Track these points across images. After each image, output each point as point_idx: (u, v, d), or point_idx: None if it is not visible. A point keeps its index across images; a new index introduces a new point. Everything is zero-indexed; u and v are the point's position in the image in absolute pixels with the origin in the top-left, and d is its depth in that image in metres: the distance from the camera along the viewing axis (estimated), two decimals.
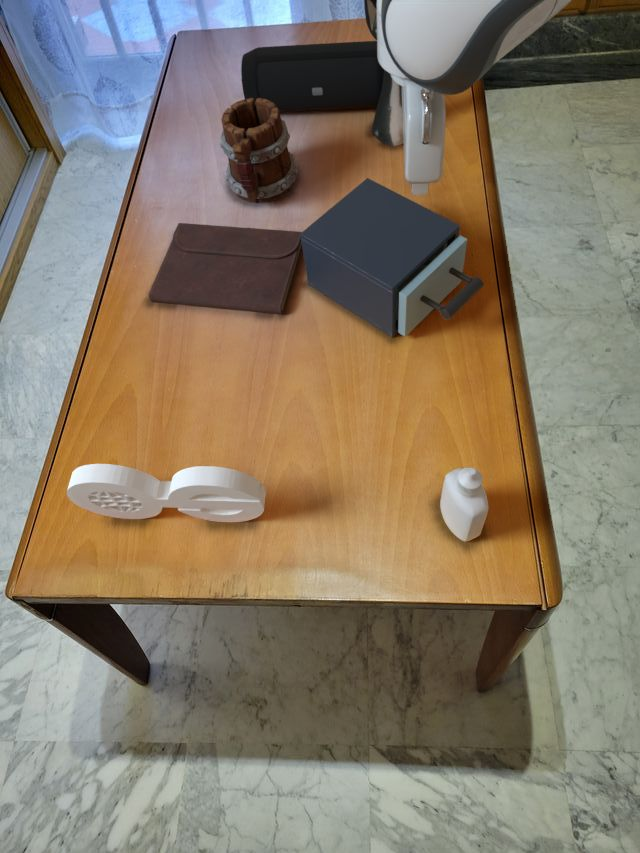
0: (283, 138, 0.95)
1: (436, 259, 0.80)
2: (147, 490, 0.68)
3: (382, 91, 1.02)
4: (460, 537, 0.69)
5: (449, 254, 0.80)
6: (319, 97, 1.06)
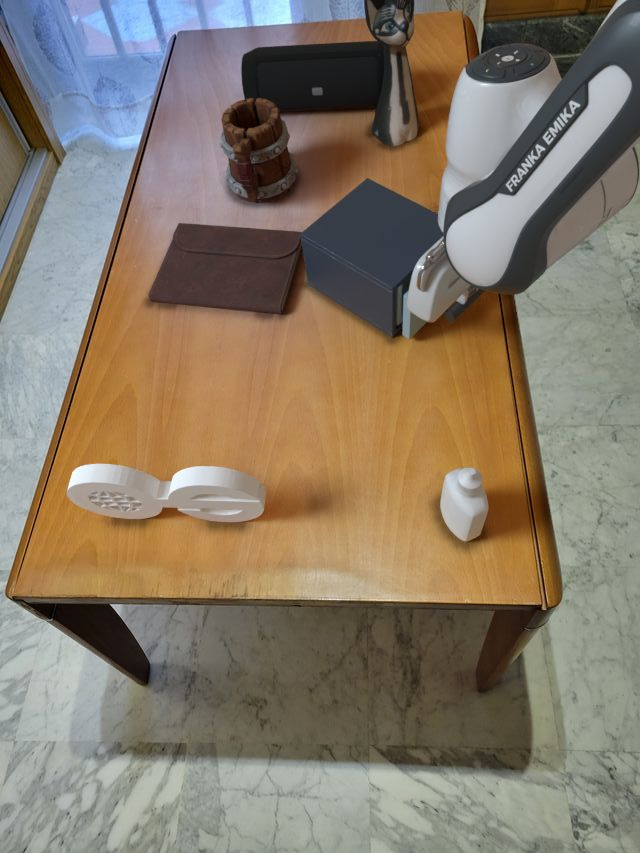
0: (283, 138, 0.95)
1: None
2: (147, 490, 0.68)
3: (382, 91, 1.02)
4: (460, 537, 0.69)
5: None
6: (319, 97, 1.06)
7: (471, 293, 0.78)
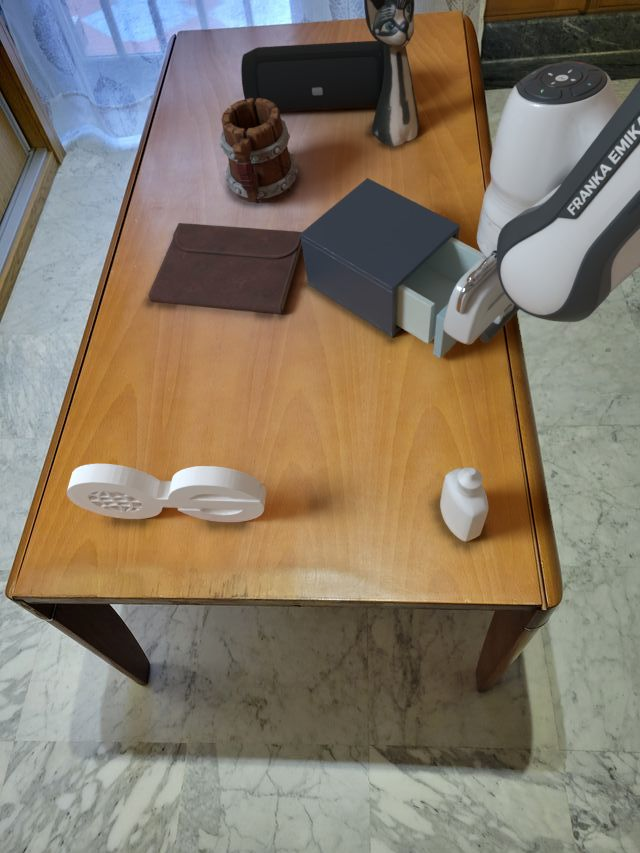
0: (283, 138, 0.95)
1: None
2: (147, 490, 0.68)
3: (382, 91, 1.02)
4: (460, 537, 0.69)
5: None
6: (319, 97, 1.06)
7: (506, 312, 0.76)
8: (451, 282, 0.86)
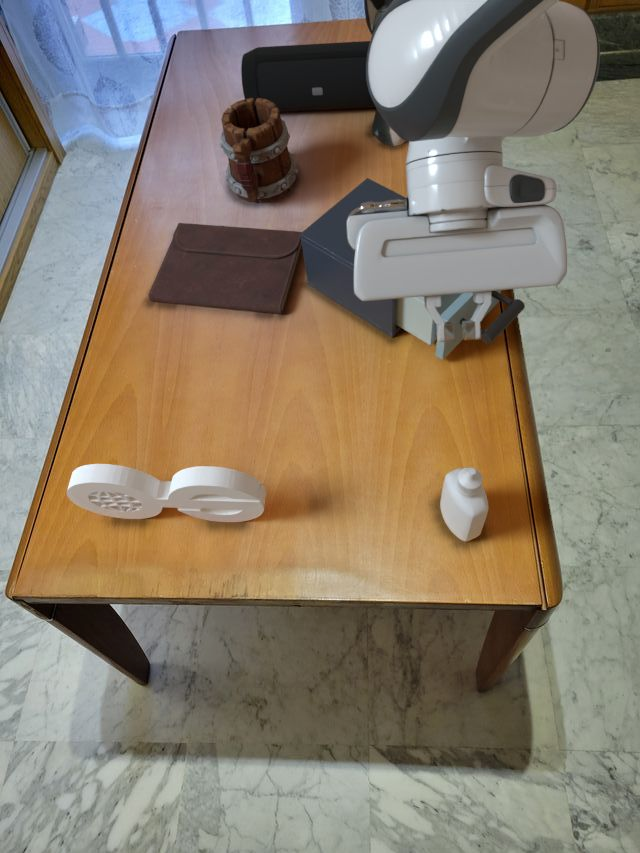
0: (283, 138, 0.95)
1: None
2: (147, 490, 0.68)
3: None
4: (460, 537, 0.69)
5: None
6: (319, 97, 1.06)
7: (452, 330, 0.62)
8: None
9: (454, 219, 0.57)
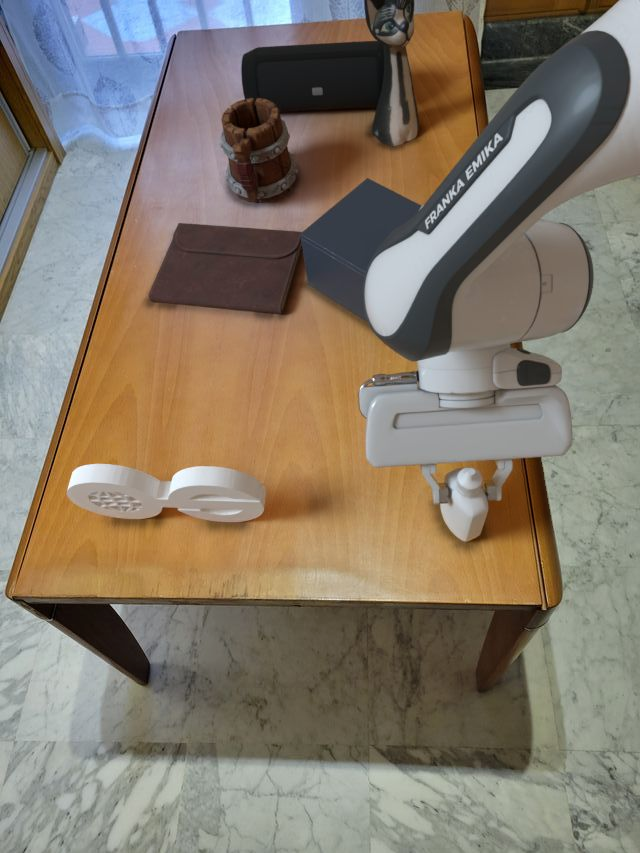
0: (283, 138, 0.95)
1: None
2: (147, 490, 0.68)
3: (382, 91, 1.02)
4: (460, 537, 0.69)
5: None
6: (319, 97, 1.06)
7: (447, 494, 0.64)
8: None
9: (463, 399, 0.60)
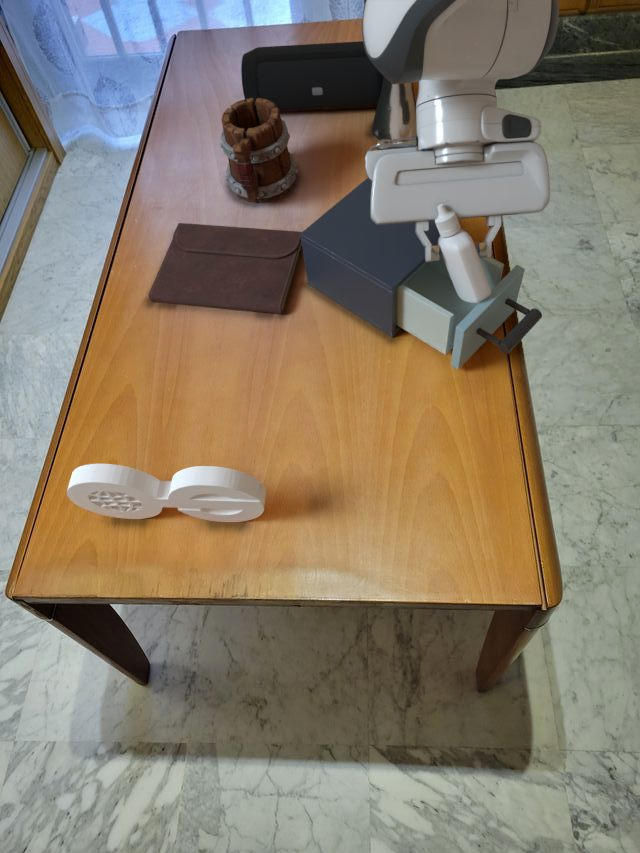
0: (283, 138, 0.95)
1: (493, 290, 0.76)
2: (147, 490, 0.68)
3: (382, 91, 1.02)
4: (471, 298, 0.75)
5: (507, 285, 0.77)
6: (319, 97, 1.06)
7: (438, 251, 0.74)
8: None
9: (456, 152, 0.69)
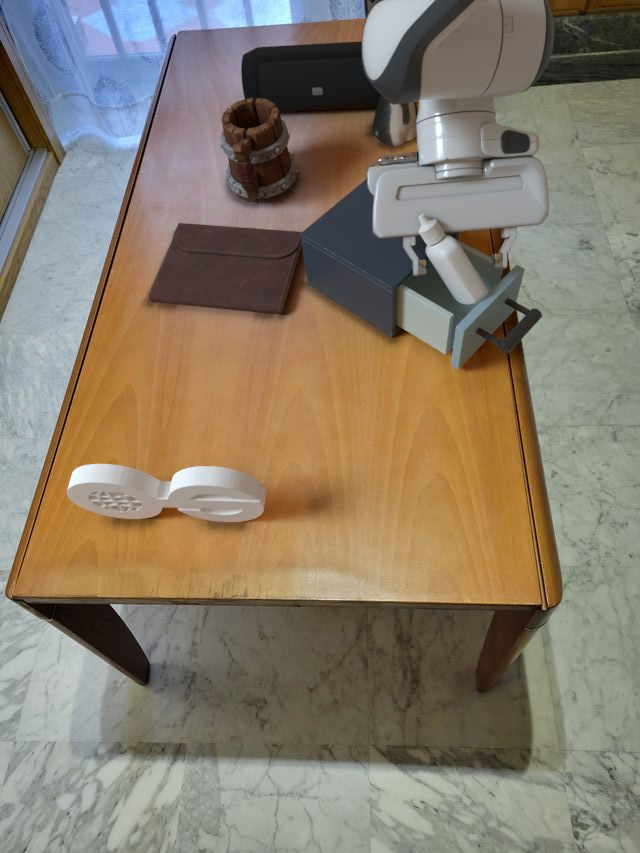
0: (283, 138, 0.95)
1: (493, 290, 0.76)
2: (147, 490, 0.68)
3: None
4: (468, 300, 0.76)
5: (506, 285, 0.77)
6: (319, 97, 1.06)
7: (424, 265, 0.75)
8: None
9: (456, 167, 0.70)
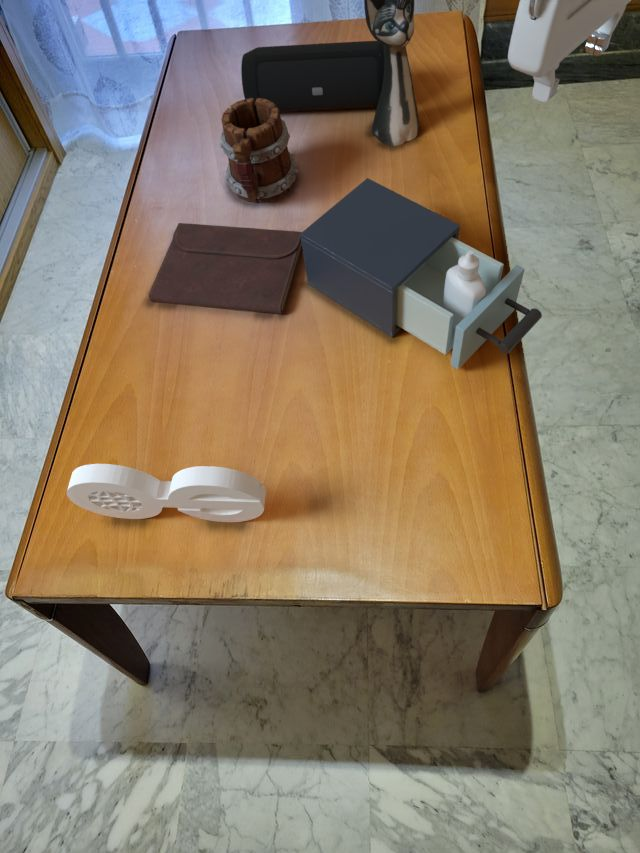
0: (283, 138, 0.95)
1: (493, 290, 0.76)
2: (147, 490, 0.68)
3: (382, 91, 1.02)
4: None
5: (506, 285, 0.77)
6: (319, 97, 1.06)
7: (557, 86, 0.61)
8: None
9: None
